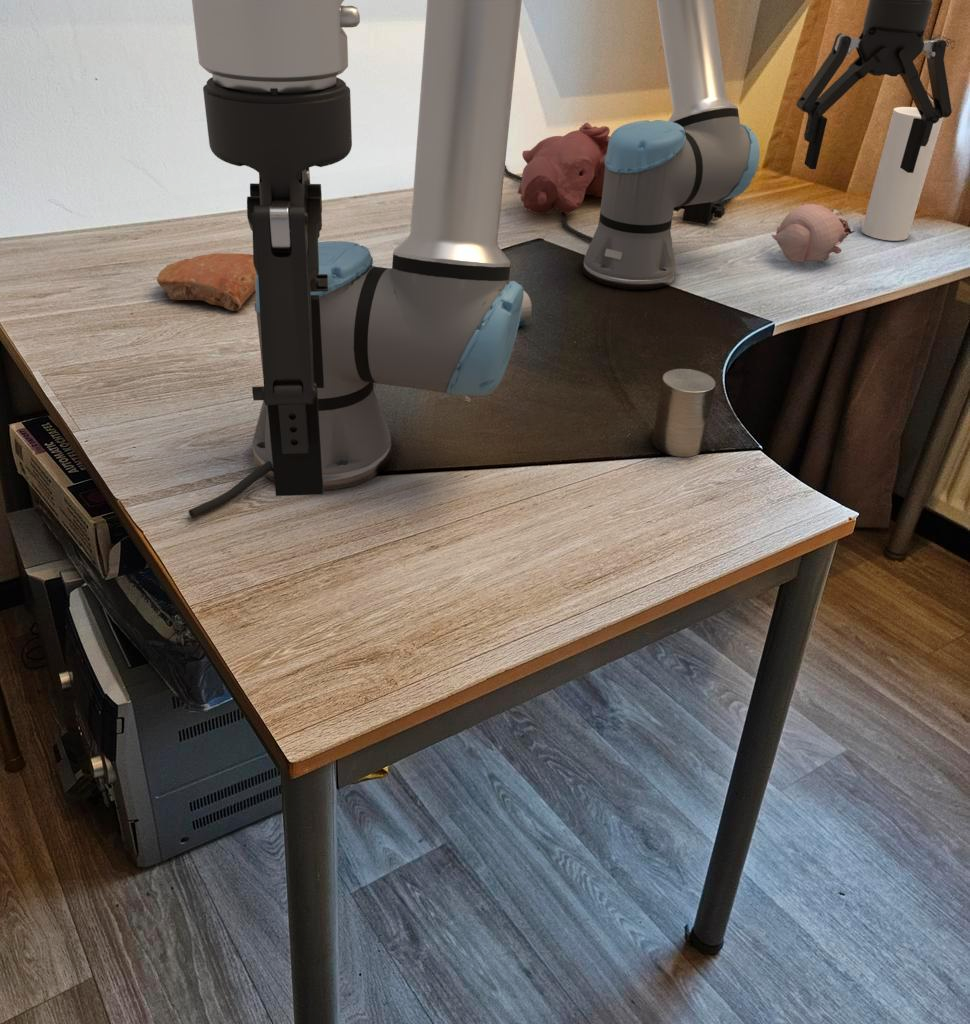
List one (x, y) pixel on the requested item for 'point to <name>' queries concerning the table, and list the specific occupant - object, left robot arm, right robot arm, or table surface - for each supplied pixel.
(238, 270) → the ceramic shard
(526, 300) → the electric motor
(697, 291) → the table surface
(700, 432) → the tin
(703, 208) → the toy
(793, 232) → the toy
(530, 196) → the pink toy pig
